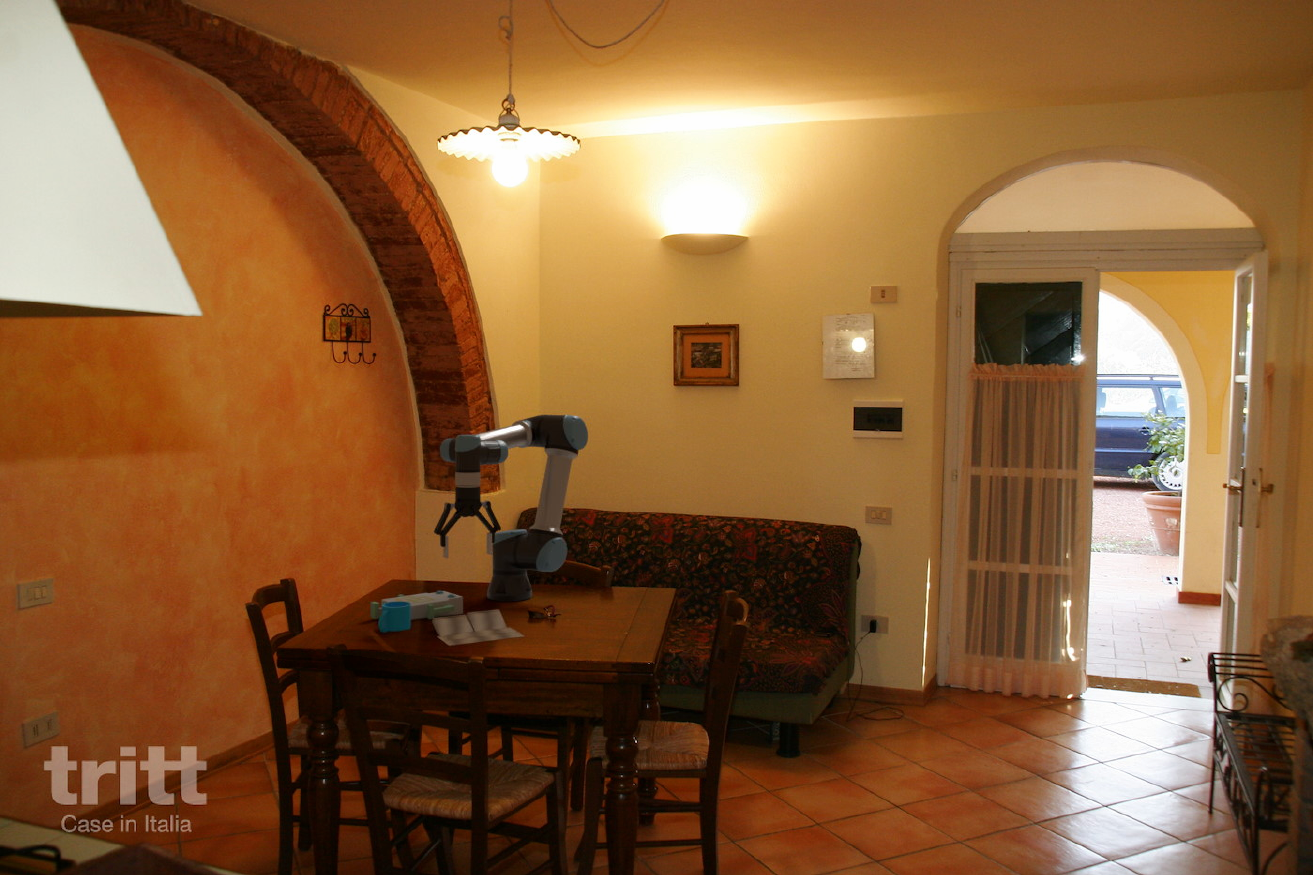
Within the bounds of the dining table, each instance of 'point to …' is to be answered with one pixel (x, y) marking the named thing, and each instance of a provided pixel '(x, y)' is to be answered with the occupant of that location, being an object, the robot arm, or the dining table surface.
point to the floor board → (479, 636)
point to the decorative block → (425, 605)
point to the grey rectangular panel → (486, 620)
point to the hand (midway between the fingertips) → (467, 555)
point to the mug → (395, 616)
